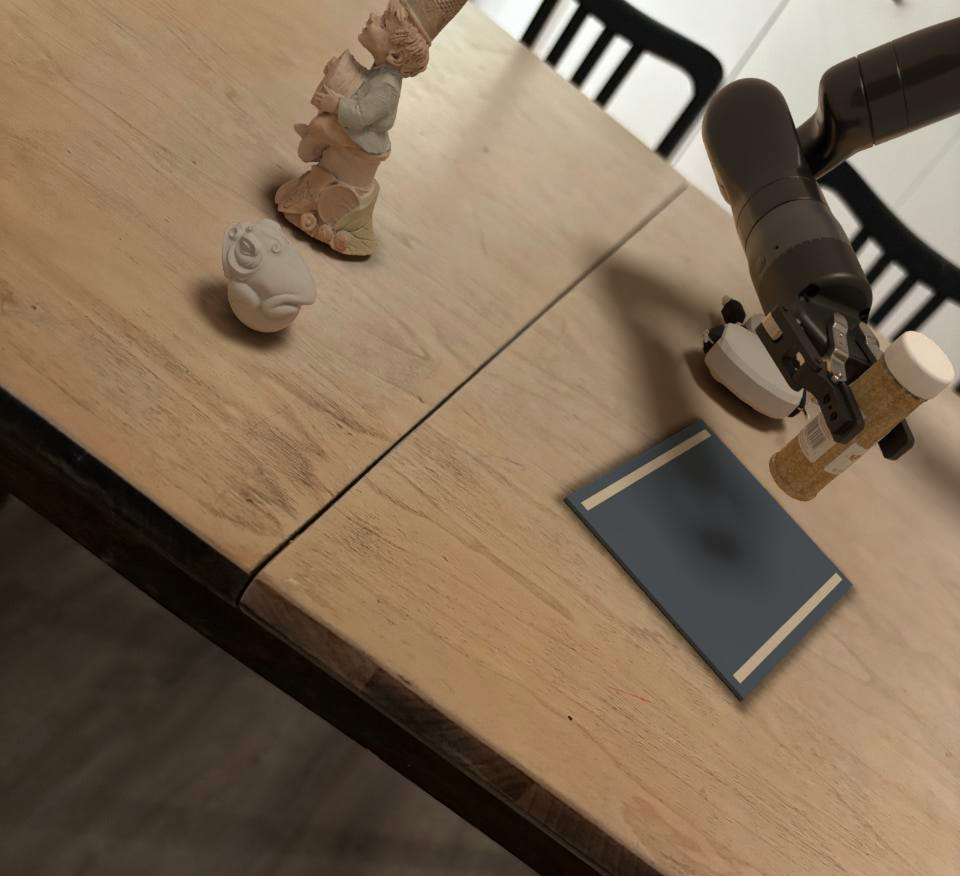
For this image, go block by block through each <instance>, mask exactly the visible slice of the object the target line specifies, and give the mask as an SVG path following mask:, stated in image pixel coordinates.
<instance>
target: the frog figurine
mask: <svg viewBox="0 0 960 876" xmlns="http://www.w3.org/2000/svg"><path fill="white" fill-rule="evenodd" d="M221 250H222V251H221V262H222V264H221V265H222V271H223V277H224V278H226V279H227V280H228V281H227V298H228V299H227V300H228V303H229V305H230V308H231V310H232V312H233V313H234V315H235V316H236V318H237V319H238V320H239V321H240V322H241V323H242V324H243V325H244V326H246V327H247V328H250V329H251V330H254V331H256V332H261V333H275V332H279V331H281V330H283V329H285V328H287V327H289V326H290V325H291V324H292V323H293V322H294V321H295V320H296V318H297V317H298V315H299V313H300V311H301V308H302V306H311V305H313V304H315V303H316V299H317V294H318V293H317V284H316V281H315V278H314V277H313V275H312V273H311V271H310V269H309V267H308V265H307V263H306V261H305V260H304V258H303V256H302V254H301V252H300V251H299V250H298V247H296V246H295V245H294V244H293V243H292V242H291V241H290V239H288V237H287V236H286V234H285V233H283V231H282V228H281V225H280V224H279V223H278V222H276V221H274V219H271V218H262V219H260V220H257V221H256V222H254V223H251V222H250V221H240V222H231V223H229V224H228V225H227V226H226V228H225V229H224V232H223V239H222V249H221Z"/></svg>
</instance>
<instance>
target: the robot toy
mask: <svg viewBox="0 0 960 876" xmlns="http://www.w3.org/2000/svg"><path fill="white" fill-rule="evenodd" d="M721 305H722V309H721V310H720V312H721V316H722V319H723V322H724V323H725V325H723V324H717V325H715V326H713V327H711V328H710V329H709V330H708V329H705V330H704V331H703V332H702V334H701V336H703V339H702V353H703V354H704V355H705V357H704V360H703V362H704V364H706V366H707V368H708V369H709V373H710V375H711V377H712V378H713V379H714V380H715V381H716V382H717V383H720V384H721V385H723V386H724V387H725V388H727V390H729V391H730V392H731V393H732V394H734V395H735V396H736V397H737V398H738V399H739V400H740V401H742V402H743V403H745V404H746V405H748V406H749V407H751V408H752V409H753V411H756V412H758V413H760V414H763V415H765V416H767V417H769V418H772V419H777V420H782V419H784V418H794V417H796V416H797V415H799V414H800V413H801V412H802V413H803V415H804V419H805V420H806V421H808V420H809V419H810V418H811V415H810V414H809V412H808V410H807V409H808V406H807V405H806V404H807V390H805V389H804V388H803V389H802V390H800V391H799V392H796V391H794V390H792V389H791V388H790V387H789V385H788V384H787V382H786V381H785V379H784V377H783V376H782V374H781V372H780V371H779V369H778V368H777V366H776V364H775V363H774V361H773V360H772V358H771V356H770V355H769V353H768V352H767V350H766V348H765V347H764V345H763V343H762V342H761V340H760V339H759V337H758V335H757V334H756V332H755V328H756V327H757V326H758V325H759V324H760V323H761V322H762V321H763V319H764V318H765V314H764V313H756V314H755V313H754V314H753V315H751V316H750V317H749V318H748V319H747V321H746V322H745V319H746V318H747V314H746V311H745V308H744V306H743V304H742V303H741V302H740V301H739V300H738V299H737V300H736V299H735V298H732V297H730V296H728V295H726V294H725V295H723V296H722V298H721ZM744 322H745V323H744ZM792 364H793V365H794V367H795V369H796V370H797V369H798V368H799V367H800V361H798V360H797V356H796V355H795V356H794V357H793V359H792Z"/></svg>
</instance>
